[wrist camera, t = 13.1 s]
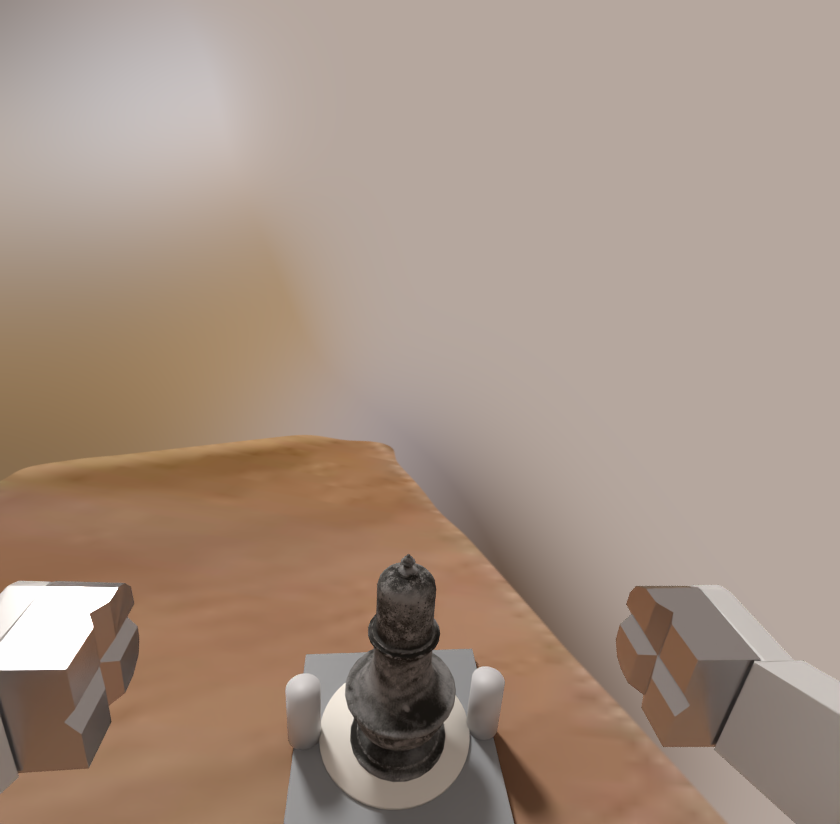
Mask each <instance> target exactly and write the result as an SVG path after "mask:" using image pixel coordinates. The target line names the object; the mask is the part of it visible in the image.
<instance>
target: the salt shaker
mask: <svg viewBox="0 0 840 824" xmlns="http://www.w3.org/2000/svg"><path fill="white" fill-rule="evenodd" d="M415 562H416V561H415V560H414V559H413V557H412V556H410V554H407V556H405V557H404V558H403V559H402V560H401V563H396V564H393V565H391V566H389V567H388V568H387V569H385V570H384V571H383V573H382V574H381V575H380V578H379V580H378V584H377V610H376V615H375V616H374V617H373V618H372V620H371V621H370V624H369V627H368V636H369V639H370V642H371V644H372V645H373V646H374V649H373V650H370V651H368V652H367V653H366V654H364V655H363V656H362V657H361V658H359V659H358V660H357V661H356V663H355V664H354V665H353V667H352V668H351V669H350V672H349V674H348V677H347V680H346V686H345V698H346V702H347V706H348V709H349V711H350V712H351V714H352V716H353V717H354V719H353V722H352V725H351V733H350V742H351V746H352V751H353V754H354V755H355V757H356V759H357V761H358V762H359V764H360V765H361V766H362V767H363V768H364V769H365V770H366V771H367V772H368V773H370V774H372V775H374V776H375V777H377V778H379V779H382V780H387V781H391V782H406V781H410V780H413V779H416V778H419V777H421V776H422V775H424V774H425V773H427V772H428V771H430V770H431V769H432V768H433V766H434V765H435V764H436V763H437V762H438V760H439V758H440V756H441V754H442V752H443V749H444V743H445V728H444V722H445V720H446V719H447V718H448V717H449V715H450V713H451V711H452V709H453V706H454V702H455V695H456V688H455V682H454V678H453V676H452V674H451V672H450V670H449V668H448V666H447V665H446V664H445V663H444V662H443V661H442V659H441V658H440V657H438V656H437V655H435V654H434V653H433V652H432V650H433V649H435V647H436V645H437V644H438V642H439V637H440V630H439V626H438V624H437V622H436V620H435V619H434V609H435V597H436V585H435V580H434V578H433V576H432V574H431V573H430V572H429V571H428V570H427V569H426V568H424V567H423V566H421V565H418V564H416V563H415Z"/></svg>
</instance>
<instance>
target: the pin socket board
mask: <svg viewBox="0 0 840 824" xmlns="http://www.w3.org/2000/svg"><path fill="white" fill-rule="evenodd" d="M432 652H433V653H434V654H435V655H437V656H438V657H440V658H441V659H442V661H443V662H444V663H445V664H446V665H447V666H448V668H449V670H450V672H451V674H452V676H453V678H454V682H455V688H456V695H455V702H454V706H453V709H452V711H451V713H450V715H449V717H448V718H447V719H446V720H445V722H444V728H445V743H444V749H443V752H442V754H441V756H440V758H439V760H438V762H437V763H436V764H435V765H434V766H433V768H432V769H431V770H430V771H428V772H427V773H425V774H424V775H422V776H421V777H419V778H416V779H413V780H410V781H406V782H391V781H387V780H382V779H379V778H377V777H375V776H374V775H372V774H370V773H368V772H367V771H366V770H365V769H364V768H363V767H362V766H361V765H360V764H359V762H358V761H357V759H356V757H355V755H354V754H353V751H352V746H351V742H350V733H351V725H352V722H353V719H354V717H353V716H352V714H351V712H350V711H349V709H348V706H347V702H346V698H345V686H346V680H347V677H348V674H349V672H350V669H351V668H352V667H353V665H354V664H355V663H356V661H357V660H358V659H359V658H361V657H362V656H363V655H364V654H366V653H367V652H365V653H336V654H307V655H306V659H305V666H304V674H299V675H297V676H295V677H293V678H292V679H291V680H290V681H289V682H288V684H287V686H286V708H287V728H288V741H289V743H290V745H291V746H292V747H293V748H294V750H293V757H292V765H291V772H290V780H289V788H288V795H287V803H286V810H285V818H284V824H514V821H513V817H512V813H511V809H510V804H509V800H508V796H507V792H506V788H505V784H504V780H503V775H502V771H501V767H500V763H499V759H498V755H497V750H496V746H495V742H494V738H493V737H494V736H495V734H496V732H497V728H498V722H499V716H500V710H501V704H502V697H503V691H504V685H505V681H504V678H503V676H502V674H501V673H500V672H499V671H498V670H496V669H494V668H492V667H480V668H478V669H477V667H476V663H475V659H474V655H473V651H472V649H452V650H432Z"/></svg>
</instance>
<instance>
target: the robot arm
mask: <svg viewBox="0 0 840 824" xmlns="http://www.w3.org/2000/svg"><path fill="white" fill-rule="evenodd" d="M133 605H134V600H133V595H132V590H131V586H129V585H127V584H125V583H101V582H66V581H55V582H41V581H18V582H15V583H13V584H11V585H9V586H7V587H6V588H5V589H4V590H3V591H2V593H1V594H0V794H1V793H2V792H3V791H4V790H5V789H6V788H7V787H8V786H9V785H11V784H12V783H13V782H14V781H15V780H16V779H17V778H18V777H19V775H18V773H27V772H42V771H57V770H72V769H87V768H89V767H90V765H91V762H92V760H93V758H94V756H95V754H96V752H97V750H98V748H99V746H100V744H101V742H102V740H103V738H104V736H105V734H106V732H107V730H108V727H109V725H110V723H111V717H110V711H109V705H110V704H112V703H113V702H114V701H116V700H117V699H118V698H119V697H121V696H122V695H123V694H124V693H125V692H126V690H127V688H128V685H129V683H130V681H131V679H132V677H133V674H134V670H135V666H136V662H137V658H138V653H139V633H138V626H137V625H135V624H134V623H133V622H132V621H131V620H130V619H129V618H128V617H127V616H128V614H129V612H130V611H131V609H132V607H133ZM626 605H627V606H628V608H629V610H630V612H631V615H630V616H629V617H628V618H626V619H625V620H624V621H623V622H622V623H621V624H620V626H619V630H618V634H617V638H616V648H617V658H618V661H619V664H620V667H621V670H622V672H623V674H624V676H625V678H626V680H627V682H628V683H629V684H630V685H631V686H633V687H634V688H635V689H637V690H638V691H639V692H640V693H642V694H643V701H642V709H643V711H644V713H645V715H646V717H647V719H648V720H649V722H650V724H651V726H652V728H653V729H654V731H655V733H656V735H657V737H658V738H659V740H660V742H661V744H662V746H663V747H715V748H714V750H715V751H716V752H717V753H718V754H719V755H721V756H722V757H723V758H724V759H725V760H726V761H727V762H728V763H729V764H730V765H732V766H733V767H734V768H735V769H736V770H737V771H738V772H739V773H740V774H741V775H743V776H744V777H745V778H746V779H747V780H748V781H749V782H750V783H751V784H752V785H754V786H755V787H756V788H757V789H758V790H759V791H760V792H761V793H763V794H764V795H765V796H766V797H767V798H768V799H769V800H770V801H771V802H772V803H773V804H775V805H776V806H777V807H778V808H779V809H780V810H781V811H783V813H784V814H786V815H787V816H788V817H789V818H790V819H791V820H792V821H793V822H794V823H796V824H840V681H838V680H836V679H835V678H833V677H831V676H829V675H827V674H826V673H824V672H822V671H821V670H819V669H817V668H815V667H814V666H812V665H810V664H808V663H806V662H805V661H794V660H793V659H792V658H791V657H790V656H789V654H788V653H787V652H786V651H785V650H784V649H783V648H782V647H781V646H780V645H779V644H778V643H777V642H776V640H775V639H774V638H773V637H772V636H771V635H770V634H769V633H768V632H767V631H766V630H765V629H764V627H763V626H762V625H761V624H760V623H759V622H758V621H757V620H756V619H755V618H754V617H753V616H752V615H751V614H750V612H749V611H748V610H747V609H746V608H745V607H744V606H743V605H742V604H741V603H740V602H739V601H738V600H737V598H735V596H734V595H733V594H732V593H731V592H730V591H729V590H728V589H726V588H724V587H722V586H720V585H692V586H636V587H635V588H634V589H633V590H632V591H631V592H630V594H629V597H628V601H627V604H626Z"/></svg>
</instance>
